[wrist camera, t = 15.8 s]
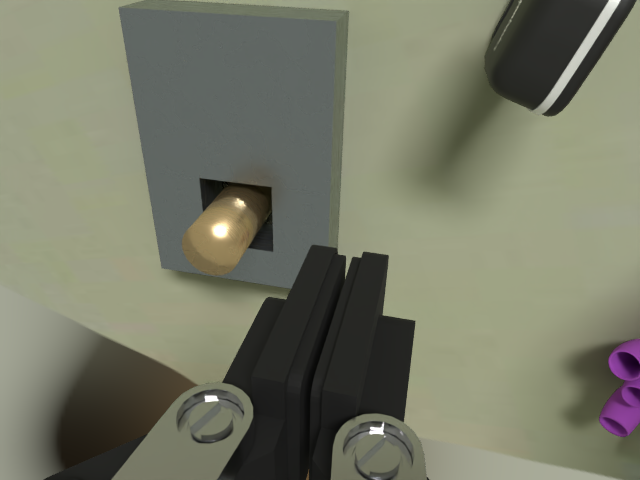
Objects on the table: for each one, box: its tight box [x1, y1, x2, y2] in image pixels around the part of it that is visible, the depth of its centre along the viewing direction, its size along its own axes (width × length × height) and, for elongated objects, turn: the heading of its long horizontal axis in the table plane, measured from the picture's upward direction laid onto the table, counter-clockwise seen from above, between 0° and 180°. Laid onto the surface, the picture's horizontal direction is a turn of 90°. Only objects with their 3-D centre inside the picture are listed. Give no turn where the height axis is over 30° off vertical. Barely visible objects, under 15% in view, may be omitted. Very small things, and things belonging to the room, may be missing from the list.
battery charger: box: [485, 0, 636, 116], centre depth 27 cm, size 7×4×11 cm, turn 160°
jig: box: [119, 0, 349, 289], centre depth 39 cm, size 14×20×4 cm
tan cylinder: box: [182, 182, 272, 276], centre depth 39 cm, size 4×4×9 cm
